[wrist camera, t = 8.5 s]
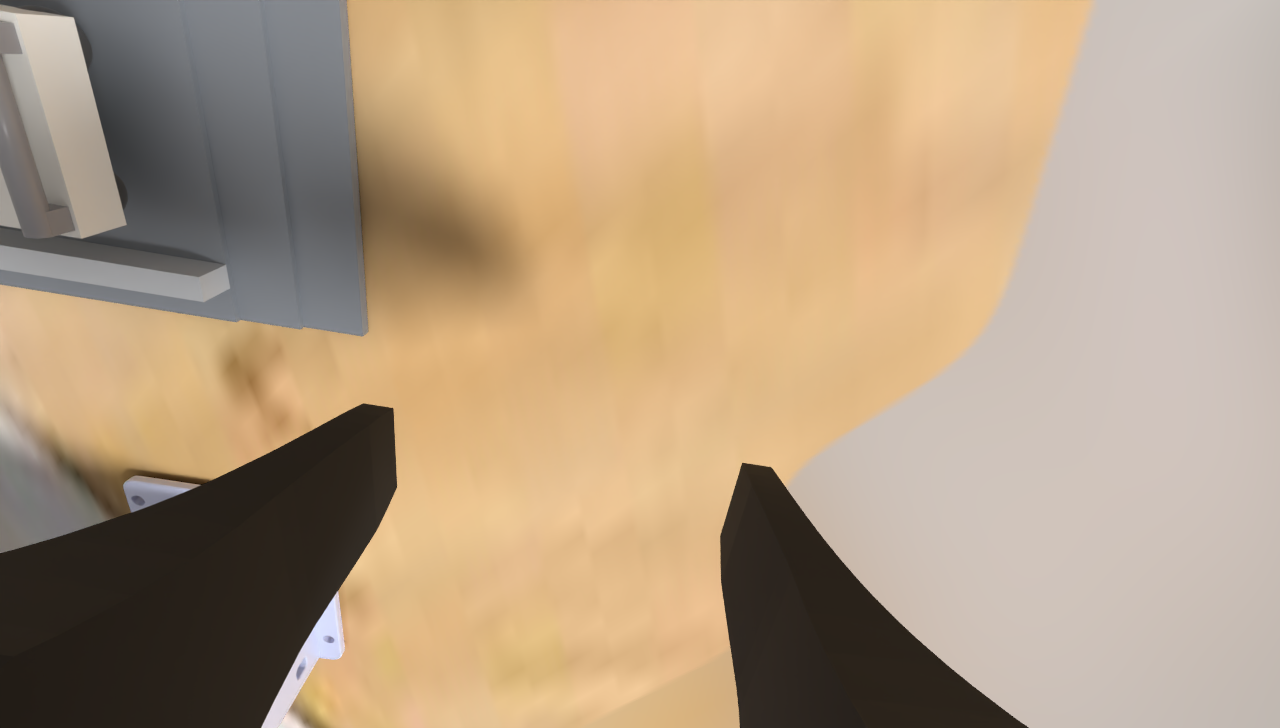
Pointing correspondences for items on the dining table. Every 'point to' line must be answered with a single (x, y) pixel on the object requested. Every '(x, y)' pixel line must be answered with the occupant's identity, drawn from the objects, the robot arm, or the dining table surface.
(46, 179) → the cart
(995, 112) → the dining table surface
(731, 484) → the dining table surface
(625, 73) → the dining table surface
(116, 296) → the dock
